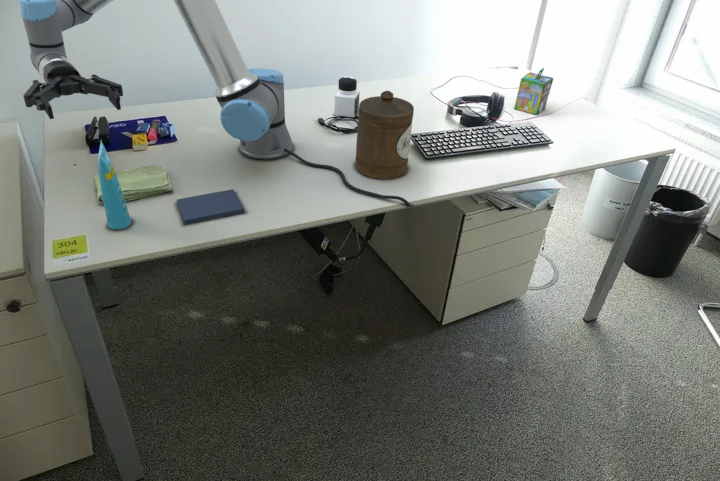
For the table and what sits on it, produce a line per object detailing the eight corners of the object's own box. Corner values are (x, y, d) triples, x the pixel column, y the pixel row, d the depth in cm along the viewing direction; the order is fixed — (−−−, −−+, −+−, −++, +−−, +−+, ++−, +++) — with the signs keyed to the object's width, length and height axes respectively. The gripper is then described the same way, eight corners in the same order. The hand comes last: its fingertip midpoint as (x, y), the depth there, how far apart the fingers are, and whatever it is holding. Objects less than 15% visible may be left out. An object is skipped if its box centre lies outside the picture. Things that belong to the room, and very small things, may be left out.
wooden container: (411, 179, 143) (420, 102, 130) (357, 179, 141) (361, 101, 129) (403, 155, 155) (410, 82, 142) (353, 154, 153) (356, 81, 141)
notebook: (233, 193, 133) (233, 188, 132) (244, 212, 125) (243, 208, 125) (177, 203, 127) (176, 199, 127) (184, 224, 120) (184, 220, 120)
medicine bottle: (354, 118, 176) (356, 83, 169) (334, 115, 177) (334, 80, 170) (358, 110, 182) (360, 76, 175) (339, 108, 183) (339, 74, 176)
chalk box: (522, 102, 196) (531, 62, 187) (545, 108, 192) (556, 68, 183) (512, 109, 190) (522, 68, 181) (537, 115, 186) (547, 74, 177)
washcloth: (175, 193, 131) (173, 181, 129) (99, 208, 124) (96, 196, 122) (164, 170, 141) (162, 159, 139) (93, 183, 133) (90, 172, 132)
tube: (133, 230, 118) (113, 152, 106) (110, 234, 116) (87, 156, 105) (129, 213, 123) (110, 138, 112) (107, 217, 121) (85, 141, 110)
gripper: (117, 84, 134) (146, 116, 122) (4, 97, 121) (24, 133, 108) (112, 55, 130) (142, 84, 117) (-5, 64, 116) (14, 99, 104)
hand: (85, 108), depth 113 cm, fingers open, 13 cm apart
